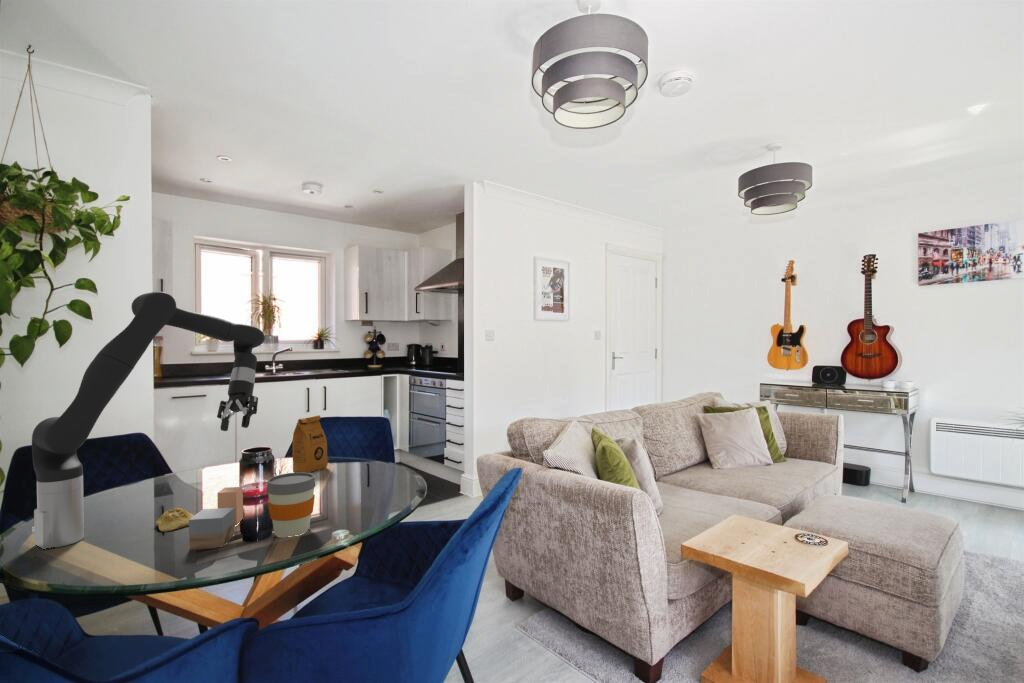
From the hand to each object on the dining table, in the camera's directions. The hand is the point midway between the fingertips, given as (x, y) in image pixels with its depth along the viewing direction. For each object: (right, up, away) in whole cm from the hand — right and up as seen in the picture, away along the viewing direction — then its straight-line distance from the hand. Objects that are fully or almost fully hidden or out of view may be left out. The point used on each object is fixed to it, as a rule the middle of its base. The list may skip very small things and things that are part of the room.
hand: (234, 429), depth 167 cm
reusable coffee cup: (+30, -24, -26) cm, 47 cm away
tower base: (+12, -25, -33) cm, 43 cm away
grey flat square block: (+12, -21, -33) cm, 41 cm away
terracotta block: (+10, -24, -20) cm, 33 cm away
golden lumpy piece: (-6, -25, -20) cm, 32 cm away
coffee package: (+10, -24, +38) cm, 46 cm away
